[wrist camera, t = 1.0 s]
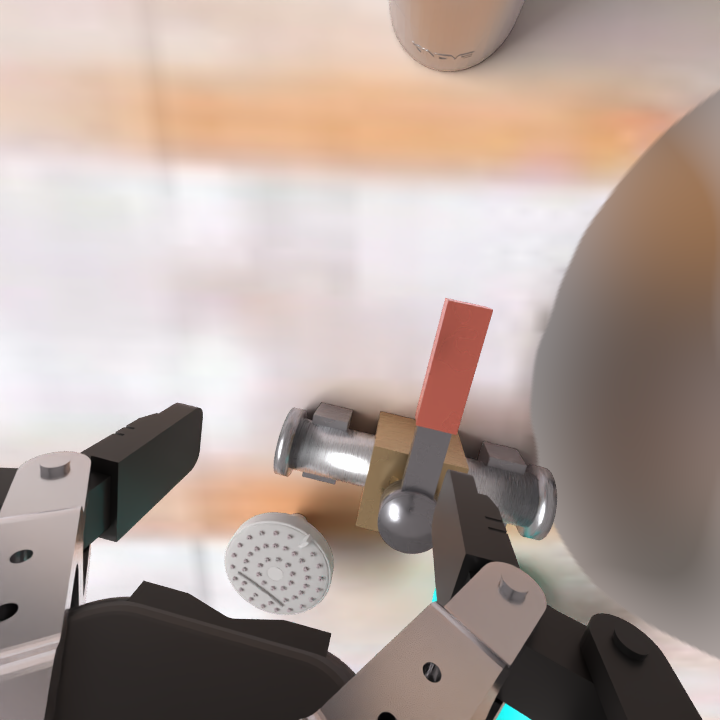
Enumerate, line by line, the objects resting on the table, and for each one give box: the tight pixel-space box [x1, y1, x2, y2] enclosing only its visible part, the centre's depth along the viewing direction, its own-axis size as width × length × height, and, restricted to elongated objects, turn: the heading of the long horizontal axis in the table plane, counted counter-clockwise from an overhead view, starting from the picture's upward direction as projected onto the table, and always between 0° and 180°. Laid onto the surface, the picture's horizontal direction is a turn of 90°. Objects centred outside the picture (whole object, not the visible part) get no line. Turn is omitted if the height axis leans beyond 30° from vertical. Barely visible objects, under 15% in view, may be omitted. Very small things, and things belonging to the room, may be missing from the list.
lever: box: [378, 298, 493, 554], centre depth 25 cm, size 17×4×2 cm, turn 169°
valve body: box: [274, 403, 557, 540], centre depth 32 cm, size 7×22×8 cm, turn 79°
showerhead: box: [224, 512, 334, 615], centre depth 35 cm, size 9×7×10 cm
